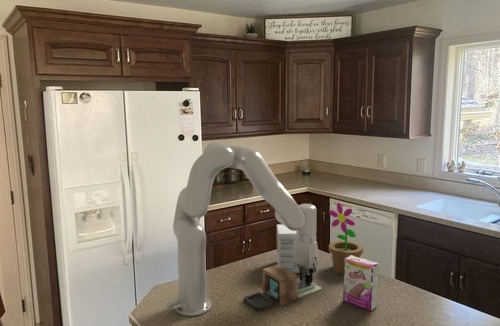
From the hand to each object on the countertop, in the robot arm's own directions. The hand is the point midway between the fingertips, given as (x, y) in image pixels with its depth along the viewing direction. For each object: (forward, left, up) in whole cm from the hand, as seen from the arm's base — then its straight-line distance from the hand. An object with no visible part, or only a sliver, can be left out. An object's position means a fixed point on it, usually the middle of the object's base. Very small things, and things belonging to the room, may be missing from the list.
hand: (306, 281), depth 156 cm
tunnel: (-13, 0, -2) cm, 13 cm away
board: (-2, 0, -2) cm, 3 cm away
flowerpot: (+25, +3, -3) cm, 25 cm away
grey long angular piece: (-7, 0, -2) cm, 7 cm away
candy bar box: (+7, -21, -3) cm, 22 cm away
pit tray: (-23, 0, -2) cm, 23 cm away
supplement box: (+8, +18, -3) cm, 20 cm away
